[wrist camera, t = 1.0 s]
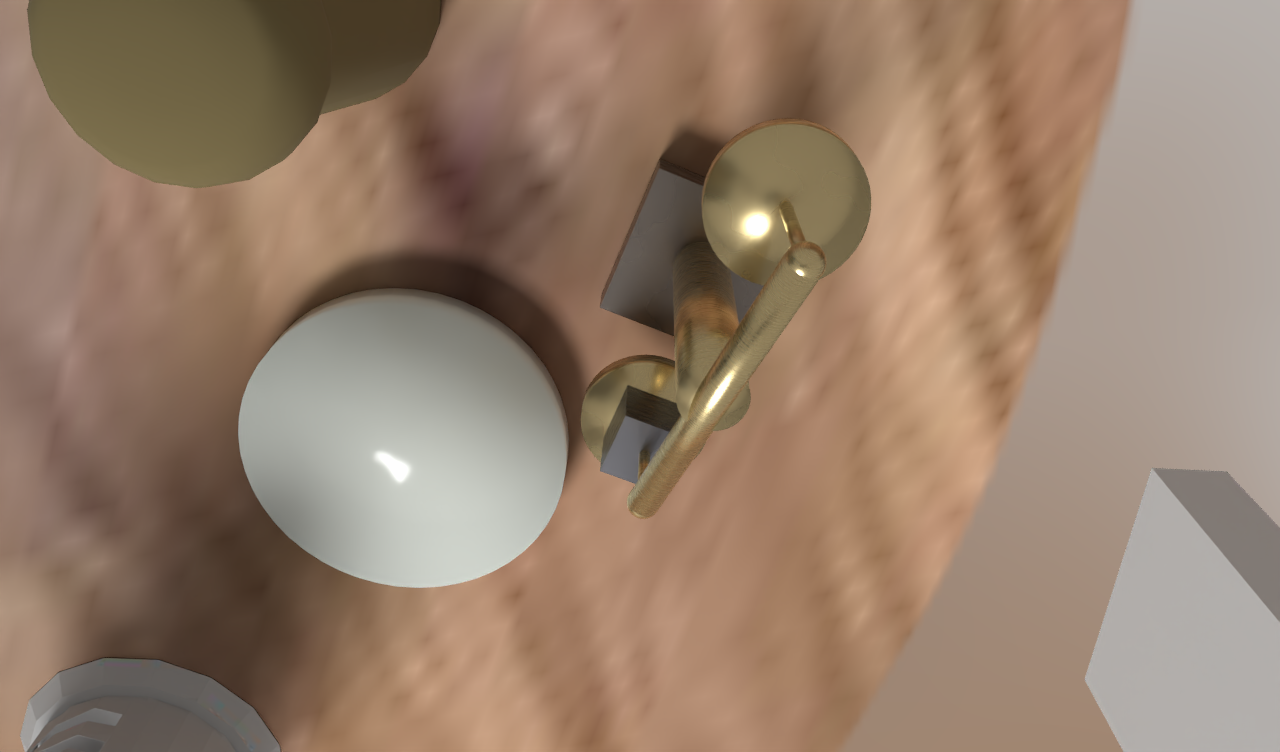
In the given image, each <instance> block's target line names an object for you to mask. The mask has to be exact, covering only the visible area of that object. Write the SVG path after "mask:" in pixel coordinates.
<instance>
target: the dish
mask: <svg viewBox="0 0 1280 752" xmlns="http://www.w3.org/2000/svg"><path fill="white" fill-rule="evenodd" d="M238 438H239V447H240V454H241V458H242V462H243V466H244V470H245V473H246V475H247V478H248V480H249V482H250V485H251V487H252V490H253V491H254V493H255V495H256V497H257V498H258V500H259V502H260V503H261V505H262V507H263V508H264V509H265V511H266V512H267V513H268V515H269V516H270V517H271V519H272V520H273V521H274V523H275V524H276V525H277V526H278V527H279V528H280V529H281V530H282V531H283V532H284V533H285V534H286V535H287V536H288V537H289V538H290V539H292V540H293V541H294V542H295V543H296V544H298V545H299V546H300V547H301V548H302V549H304V550H305V551H307V552H308V553H310V554H311V555H313V556H314V557H316V558H317V559H319V560H320V561H322V562H324V563H326V564H328V565H330V566H332V567H334V568H336V569H338V570H340V571H342V572H345V573H347V574H350V575H352V576H355V577H357V578H361V579H365V580H368V581H372V582H375V583H380V584H386V585H392V586H398V587H413V588H424V587H440V586H446V585H453V584H458V583H462V582H466V581H469V580H473V579H476V578H479V577H481V576H483V575H486V574H488V573H491V572H493V571H495V570H497V569H498V568H500V567H502V566H504V565H506V564H507V563H509V562H510V561H512V560H513V559H514V558H516V557H517V556H518V555H520V554H521V553H522V552H524V551H525V550H526V549H527V548H528V547H529V546H530V545H531V544H532V543H533V542H534V541H535V540H536V539H537V537H538V536H539V535H540V533H541V532H542V531H543V529H544V528H545V527H546V526H547V524H548V522H549V520H550V518H551V517H552V515H553V513H554V511H555V509H556V507H557V504H558V501H559V498H560V495H561V493H562V488H563V483H564V478H565V472H566V465H567V459H568V446H569V434H568V425H567V417H566V414H565V410H564V406H563V402H562V399H561V397H560V394H559V392H558V389H557V387H556V385H555V382H554V381H553V379H552V377H551V376H550V374H549V372H548V370H547V369H546V367H545V365H544V364H543V363H542V361H541V360H540V359H539V358H538V356H537V355H536V354H535V352H534V351H533V350H532V349H531V348H530V347H529V346H528V345H527V344H526V343H525V342H524V341H523V340H522V339H521V338H520V337H519V336H518V335H517V334H516V333H515V332H513V331H512V330H511V329H510V328H508V327H507V326H506V325H504V324H503V323H502V322H501V321H499V320H498V319H496V318H494V317H493V316H491V315H489V314H488V313H486V312H484V311H483V310H481V309H479V308H476V307H474V306H472V305H470V304H468V303H465V302H463V301H461V300H458V299H455V298H452V297H448V296H445V295H442V294H439V293H433V292H428V291H423V290H418V289H403V288H385V289H371V290H366V291H360V292H355V293H351V294H348V295H345V296H341V297H338V298H335V299H332V300H330V301H328V302H326V303H324V304H322V305H320V306H318V307H316V308H314V309H312V310H311V311H309V312H308V313H306V314H305V315H303V316H302V317H300V318H299V319H297V320H296V321H295V322H294V323H293V324H292V325H291V326H290V327H289V328H288V329H287V330H286V331H284V332H283V334H282V335H281V336H280V337H279V339H278V340H277V341H276V342H275V344H274V345H273V346H272V347H271V349H270V350H269V351H268V352H267V354H266V355H265V356H264V358H263V359H262V360H261V361H260V363H259V364H258V366H257V367H256V369H255V371H254V373H253V374H252V376H251V378H250V380H249V382H248V385H247V387H246V390H245V393H244V395H243V398H242V403H241V408H240V413H239V426H238Z"/></svg>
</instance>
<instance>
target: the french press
mask: <svg viewBox="0 0 1280 752" xmlns="http://www.w3.org/2000/svg"><path fill="white" fill-rule="evenodd" d="M20 737H21V740H22V744H23V747H24V750H25V752H280V746H279V744H278V742H277V741H276V739H275V738H274V737H273V735H272V734H271V732H270V731H269V729H268V728H267V727H266V725H265V724H264V722H263V721H262V719H261V718H260V716H259V715H258V714H257V712H256V711H255V709H254V708H253V707H252V706H250V705H249V704H247V703H246V702H244V701H243V700H242V699H240V698H239V697H237V696H236V695H235V694H233V693H232V692H230V691H229V690H228V689H226V688H225V687H223V686H222V685H220V684H219V683H218V682H216V681H215V680H213V679H212V678H210V677H207V676H204V675H201V674H198V673H195V672H193V671H190V670H187V669H184V668H181V667H178V666H175V665H172V664H169V663H166V662H163V661H160V660H147V659H119V658H103V659H99V660H96V661H93V662H90V663H87V664H83V665H80V666H77V667H74V668H71V669H68V670H64V671H61V672H59V673H57V674H56V675H55V676H54V677H53V678H52V679H51V680H50V681H49V682H48V683H47V684H46V685H45V686H44V687H43V688H42V689H40V690H39V691H38V692H37V693H36V694H35V695H34V696H33V697H32V698H31V699H30V700H29V703H28V707H27V711H26V715H25V719H24V723H23V727H22V731H21V734H20Z"/></svg>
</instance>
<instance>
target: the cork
mask: <svg viewBox="0 0 1280 752" xmlns="http://www.w3.org/2000/svg"><path fill="white" fill-rule="evenodd" d="M440 5H441V0H29V5H28V9H27V12H28V21H29V31H30V40H31V50H32V56H33V59H34V61H35V64H36V66H37V69H38V71H39V73H40V76H41V78H42V81H43V83H44V86H45V88H46V91H47V93H48V95H49V98H50V99H51V101H52V102H53V103H54V105H55V106H56V107H57V109H58V110H59V111H60V113H61V114H62V115H63V117H64V118H65V119H66V121H67V122H68V123H69V125H70V126H71V127H72V128H73V130H74V131H75V132H76V134H77V135H78V136H79V137H81V138H82V139H83V140H84V141H86V142H87V143H88V144H89V145H91V146H92V147H93V148H94V149H96V150H97V151H98V152H99V153H101V154H102V155H103V156H104V157H106V158H107V159H108V160H109V161H111V162H112V163H113V164H115V165H117V166H119V167H121V168H124V169H126V170H128V171H130V172H133V173H135V174H137V175H139V176H142V177H144V178H146V179H148V180H151V181H153V182H156V183H163V184H170V185H178V186H185V187H192V188H202V187H211V186H216V185H222V184H228V183H234V182H239V181H245V180H250V179H251V178H253V177H255V176H257V175H258V174H260V173H262V172H264V171H265V170H267V169H269V168H271V167H272V166H274V165H276V164H278V163H279V162H281V161H283V160H284V159H285V158H286V157H288V156H289V155H290V154H291V153H292V152H293V151H294V150H295V148H296V147H297V146H298V145H299V144H300V142H301V141H302V140H303V139H304V138H305V136H306V135H307V134H308V133H309V132H310V130H311V129H312V128H313V127H314V126H315V124H316V123H317V121H318V118H319V116H320V114H324V113H327V112H331V111H334V110H338V109H341V108H345V107H348V106H352V105H356V104H359V103H363V102H366V101H370V100H373V99H376V98H378V97H380V96H382V95H383V94H385V93H387V92H389V91H390V90H392V89H394V88H396V87H397V86H399V85H401V84H403V83H404V82H405V81H406V80H407V79H408V78H409V77H410V76H411V74H412V73H413V72H414V71H415V70H416V69H417V67H418V66H419V65H420V64H421V63H422V61H423V60H424V59H425V58H426V57H427V54H428V52H429V49H430V47H431V44H432V42H433V39H434V36H435V34H436V31H437V29H438V26H439V23H440Z"/></svg>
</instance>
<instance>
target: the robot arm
mask: <svg viewBox="0 0 1280 752" xmlns="http://www.w3.org/2000/svg"><path fill="white" fill-rule="evenodd" d="M1085 681H1086V683H1087V685H1088V687H1089V689H1090V690H1091V692H1092V694H1093V696H1094V698H1095V700H1096V702H1097V703H1098V705H1099V707H1100V709H1101V711H1102V713H1103V714H1104V716H1105V718H1106V720H1107V722H1108V724H1109V725H1110V727H1111V729H1112V731H1113V733H1114V735H1115V736H1116V738H1117V740H1118V742H1119V744H1120V746H1121V748H1122V749H1123V752H1280V528H1279V527H1278V525H1277V524H1275V522H1274V521H1273V520H1272V519H1271V518H1270V517H1269V516H1268V515H1267V514H1266V513H1265V512H1264V511H1263V510H1262V508H1261V507H1259V505H1258V504H1257V503H1256V502H1255V501H1254V500H1253V499H1252V498H1251V497H1250V496H1249V495H1248V494H1247V493H1246V492H1245V490H1244V489H1243V488H1242V487H1240V485H1239V484H1238V483H1237V482H1236V481H1235V480H1234V479H1233V478H1232V477H1231V476H1230V474H1229V473H1228V472H1223V471H1203V470H1182V469H1161V468H1152V469H1151V472H1150V475H1149V479H1148V482H1147V485H1146V488H1145V491H1144V494H1143V497H1142V501H1141V504H1140V507H1139V510H1138V513H1137V516H1136V519H1135V523H1134V526H1133V529H1132V532H1131V535H1130V538H1129V541H1128V545H1127V548H1126V551H1125V554H1124V557H1123V560H1122V564H1121V567H1120V570H1119V573H1118V576H1117V579H1116V582H1115V586H1114V588H1113V592H1112V595H1111V598H1110V601H1109V604H1108V607H1107V611H1106V614H1105V617H1104V620H1103V623H1102V626H1101V630H1100V632H1099V636H1098V639H1097V642H1096V645H1095V648H1094V651H1093V654H1092V658H1091V661H1090V664H1089V667H1088V670H1087V673H1086V677H1085Z"/></svg>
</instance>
